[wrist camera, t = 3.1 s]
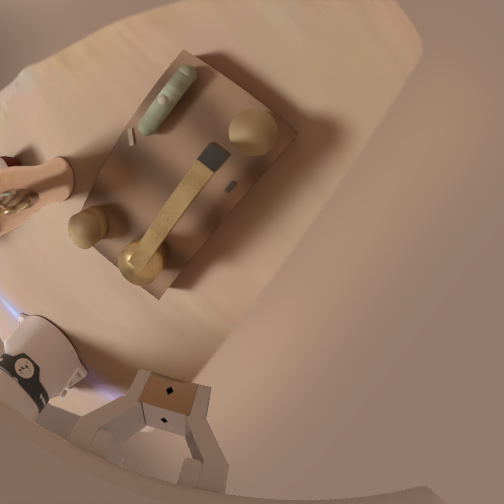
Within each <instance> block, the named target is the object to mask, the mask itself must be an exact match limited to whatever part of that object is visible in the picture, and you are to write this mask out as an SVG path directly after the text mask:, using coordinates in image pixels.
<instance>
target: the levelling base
mask: <svg viewBox="0 0 504 504" xmlns="http://www.w3.org/2000/svg"><path fill="white" fill-rule="evenodd" d="M297 135H298V133H297V132H296V131H295V130H294V129H293V128H291V127H290V126H289V125H288V124H287V123H286V122H284V121H283V120H282V119H281V118H279V117H278V116H277V115H276V114H275V113H273V112H272V111H271V110H270V109H268V108H267V107H266V106H265V105H263V104H262V103H261V102H259V101H258V100H257V99H256V98H254V97H253V96H252V95H250V94H249V93H248V92H246V91H245V90H244V89H242V88H241V87H239V86H238V85H237V84H235V83H234V82H233V81H231V80H230V79H228V78H227V77H225V76H224V75H223V74H221V73H220V72H218V71H217V70H215V69H214V68H212V67H211V66H209V65H208V64H206V63H205V62H203V61H202V60H200V59H199V58H197V57H195V56H194V55H192V54H191V53H189V52H187V51H186V50H184V49H183V51H182V52H181V53H180V54H179V55H178V56H177V58H176V59H175V60H174V61H173V63H172V64H171V65H170V66H169V67H168V69H167V70H166V71H165V73H164V74H163V75H162V76H161V78H160V79H159V80H158V82H157V83H156V84H155V86H154V87H153V88H152V90H151V91H150V92H149V94H148V95H147V97H146V98H145V99H144V101H143V102H142V104H141V105H140V107H139V108H138V110H137V111H136V113H135V114H134V116H133V117H132V119H131V120H130V122H129V123H128V125H127V126H126V128H125V130H124V131H123V133H122V134H121V136H120V138H119V139H118V141H117V143H116V144H115V146H114V148H113V149H112V151H111V153H110V155H109V156H108V158H107V160H106V162H105V164H104V166H103V167H102V169H101V171H100V173H99V175H98V177H97V179H96V181H95V183H94V185H93V187H92V189H91V191H90V193H89V195H88V197H87V199H86V201H85V203H84V205H83V208H82V210H81V212H79V213H77V214H75V215H73V216H72V217H71V218H70V220H69V223H68V232H69V235H70V238H71V240H72V241H73V243H74V244H75V245H76V246H78V247H79V248H82V249H88V248H90V247H92V246H93V247H94V248H95V249H96V250H97V251H99V252H100V253H101V254H102V255H103V256H104V257H106V258H107V259H108V260H109V261H110V262H112V263H113V264H114V265H115V266H116V267H118V268H119V266H118V257H119V254H120V252H121V251H122V250H123V249H124V248H125V247H126V246H127V245H128V244H129V243H131V242H132V241H133V240H134V239H135V238H136V237H138V236H139V235H141V234H143V233H146V232H147V230H148V229H149V227H150V226H151V224H152V222H153V221H154V219H155V218H156V217H157V215H158V214H159V212H160V211H161V209H162V208H163V206H164V205H165V203H166V202H167V200H168V199H169V198H170V196H171V195H172V193H173V192H174V191H175V189H176V188H177V186H178V185H179V184H180V182H181V181H182V179H183V178H184V177H185V175H186V174H187V173H188V171H189V170H190V169H191V167H192V166H193V165H194V163H195V162H196V161H197V158H198V157H199V156H200V154H201V153H202V152H203V151H204V149H205V148H206V147H207V145H208V144H209V143H210V142H217V143H218V144H219V145H220V146H222V147H223V148H224V149H225V150H227V151H228V152H229V153H230V154H232V155H231V156H230V157H229V158H228V159H227V161H226V162H225V163H224V164H223V166H222V167H221V168H220V169H219V170H218V171H217V172H216V173H215V174H214V176H213V177H212V178H211V179H210V181H209V182H208V183H207V185H206V186H205V187H204V188H203V190H202V191H201V192H200V194H199V195H198V196H197V197H196V199H195V200H194V201H193V203H192V204H191V205H190V207H189V208H188V209H187V211H186V212H185V213H184V215H183V216H182V217H181V219H180V220H179V221H178V223H177V224H176V226H175V227H174V228H173V230H172V231H171V232H170V234H169V235H168V237H167V238H166V239H165V241H164V242H165V243H166V245H167V247H168V250H169V259H168V262H167V264H166V265H165V266H164V268H163V269H162V270H161V272H160V273H159V274H158V276H157V277H156V278H155V280H154V281H153V282H152V283H151V284H149V285H146V286H141V287H142V288H144V289H145V290H146V291H148V292H149V293H150V294H151V295H153V296H154V297H155V298H157V299H158V300H159V299H160V298H161V297H162V295H163V294H164V293H165V291H166V290H167V289H168V288H169V286H170V285H171V284H172V282H173V281H174V280H175V279H176V277H177V276H178V275H179V274H180V272H181V271H182V270H183V269H184V267H185V266H186V265H187V264H188V262H189V261H190V260H191V259H192V257H193V256H194V255H195V254H196V252H197V251H198V250H199V249H200V247H201V246H202V245H203V244H204V243H205V241H206V240H207V239H208V238H209V236H210V235H211V234H212V233H213V232H214V230H215V229H216V228H217V227H218V226H219V224H220V223H221V222H222V221H223V220H224V218H225V217H226V216H227V215H228V214H229V212H230V211H231V210H232V209H233V208H234V207H235V205H236V204H237V203H238V202H239V201H240V199H241V198H242V197H243V196H244V195H245V194H246V192H247V191H248V190H249V189H250V188H251V187H252V186H253V184H254V183H255V182H256V181H257V180H258V179H259V178H260V176H261V175H262V174H263V173H264V172H265V171H266V170H267V168H268V167H269V166H270V165H271V164H272V163H273V162H274V161H275V159H276V158H277V157H278V156H279V155H280V154H281V153H282V152H283V151H284V149H285V148H286V147H287V146H288V145H289V144H290V143H291V142H292V141H293V140H294V138H295V137H296V136H297Z"/></svg>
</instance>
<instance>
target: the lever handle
mask: <svg viewBox="0 0 504 504" xmlns="http://www.w3.org/2000/svg"><path fill="white" fill-rule="evenodd" d="M231 155H232V154H230V153H229V152H228V151H227V150H225V149H224V148H223V147H222V146H220V145H219V144H218V143H217V142H210V143H209V144H208V145H207V147H206V148H205V149H204V151H203V152H202V153H201V154H200V156H199V157H198V158H197V161H196V162H195V163H194V165H193V166H192V167H191V169H190V170H189V171H188V173H187V174H186V175H185V177H184V178H183V179H182V181H181V182H180V184H179V185H178V186H177V188H176V189H175V191H174V192H173V193H172V195H171V196H170V198H169V199H168V200H167V202H166V203H165V205H164V206H163V208H162V209H161V211H160V212H159V214H158V215H157V217H156V218H155V219H154V221H153V222H152V224H151V226H150V227H149V229H148V230H147V232H146V233H143V234H141V235H139V236H138V237H136V238H135V239H134V240H133V241H132V242H131V243H129V244H128V245H127V246H126V247H125V248H124V249H123V250H122V251H121V252H120V254H119V257H118V266H119V269H120V271H121V273H122V275H123V276H124V277H125V278H126V279H127V280H128V281H129V282H131V283H132V284H135V285H138V286H146V285H149V284H151V283H152V282H153V281H154V280H155V278H156V277H157V276H158V274H159V273H160V272H161V270H162V269H163V268H164V266H165V265H166V264H167V262H168V259H169V250H168V247H167V245H166V243H165V242H164V241H165V239H166V238H167V237H168V235H169V234H170V232H171V231H172V230H173V228H174V227H175V226H176V224H177V223H178V221H179V220H180V219H181V217H182V216H183V215H184V213H185V212H186V211H187V209H188V208H189V207H190V205H191V204H192V203H193V201H194V200H195V199H196V197H197V196H198V195H199V194H200V192H201V191H202V190H203V188H204V187H205V186H206V185H207V183H208V182H209V181H210V179H211V178H212V177H213V176H214V174H215V173H216V172H217V171H218V170H219V169H220V168H221V167H222V166H223V164H224V163H225V162H226V161H227V159H228V158H229V157H230V156H231Z"/></svg>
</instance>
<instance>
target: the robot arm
mask: <svg viewBox="0 0 504 504" xmlns="http://www.w3.org/2000/svg"><path fill="white" fill-rule="evenodd" d="M4 349H5V354H3V355H2V356H1V357H0V504H447V503H446V501H445V500H444V499H443V498H441V497H440V496H439V495H438V494H437V493H436V492H434V491H433V490H432V489H431V488H429V487H427V486H418V487H414V488H410V489H406V490H401V491H396V492H390V493H385V494H378V495H372V496H364V497H355V498H345V499H331V500H278V499H263V498H252V497H243V496H236V495H228V494H225V488H226V481H227V475H228V469H229V464H228V462H227V461H226V459H225V457H224V455H223V453H222V451H221V449H220V447H219V445H218V443H217V441H216V439H215V437H214V435H213V432H212V430H211V428H210V426H209V424H208V422H207V420H206V416H207V411H208V405H209V399H210V393H211V387H208V386H203V385H199V384H196V383H191V382H187V381H183V380H179V379H173V378H170V377H167V376H163V375H160V374H157V373H154V372H151V371H148V370H144V369H140V370H139V371H138V372H137V374H136V376H135V378H134V380H133V382H132V384H131V386H130V388H129V390H128V392H127V394H126V396H125V397H124V396H121V397H119V398H117V399H115V400H113V401H112V402H110V403H108V404H106V405H104V406H102V407H100V408H98V409H96V410H94V411H92V412H90V413H88V414H86V415H84V416H82V417H81V418H79V420H78V422H77V423H76V425H75V427H74V429H73V431H72V433H71V434H70V436H69V438H68V440H67V441H65V440H64V439H62V438H60V437H58V436H56V435H55V434H53V433H51V432H49V431H48V430H46V429H44V428H43V427H41V426H40V425H38V424H36V423H35V422H33V420H34V418H35V417H36V415H37V414H38V413H41V411H42V410H43V409H44V408H45V407H46V404H47V403H48V401H49V399H51V398H53V397H56V396H59V397H60V398H63V397H64V396H65V395H66V393H67V391H66V390H67V389H68V388H70V387H71V386H73V385H74V384H76V383H77V382H79V381H80V380H82V379H83V378H85V377H86V376H87V374H88V372H87V370H86V369H85V368H84V366H83V365H82V364H81V362H80V360H79V358H78V355H77V353H76V351H75V349H74V347H73V346H72V344H71V343H70V342H69V340H68V339H67V338H66V337H65V335H64V334H63V333H62V332H61V331H60V330H59V329H58V328H57V327H55V326H54V325H53V324H52V323H50V322H49V321H48V320H46V319H44V318H42V317H40V316H35V315H33V316H27V315H25V314H22V313H21V314H20V315H19V316H18V326H17V327H16V329H15V330H14V331H13V332H12V333H11V335H10V336H9V337H8V338H7V339H6V341H5V342H4ZM146 425H148V426H151V427H154V428H158V429H162V430H165V431H169V432H172V433H175V434H179V435H183V436H185V439H186V442H187V445H188V447H189V450H190V453H191V455H192V458H193V459H192V458H186V459H184V461H183V465H182V469H181V472H180V475H179V479H178V482H177V484H175V483H171V482H168V481H164V480H161V479H157V478H154V477H151V476H148V475H145V474H142V473H139V472H136V471H133V470H130V469H127V468H125V467H122V463H123V461H124V458H123V456H122V454H121V452H120V450H119V448H118V446H119V445H120V444H122V443H123V442H124V441H126V440H127V439H129V438H130V437H132V436H133V435H134V434H136V433H137V432H138V431H140V430H141V429H142V428H144V427H145V426H146Z"/></svg>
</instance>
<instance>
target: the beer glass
mask: <svg viewBox="0 0 504 504" xmlns="http://www.w3.org/2000/svg"><path fill="white" fill-rule="evenodd" d="M73 186H74V175H73V171H72V168H71V166H70V164H69V163H68V162H67V161H66V160H65V159H63V158H61V157H55V158H52V159H50V160H49V161H47V162H45V163H43V164H40V165H34V166H12V167H5V168H1V169H0V236H2V235H4V234H6V233H8V232H10V231H11V230H13V229H15V228H16V227H18V226H20V225H21V224H22V223H24V222H25V221H26V220H28V219H29V218H30V217H31V216H32V215H34V214H35V213H36V212H37V211H39V210H40V209H41V208H42V207H44V206H46V205H47V204H50V203H55V202H61V201H64V200H66V199H67V198H68V197H69V196H70V194H71V193H72V190H73Z"/></svg>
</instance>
